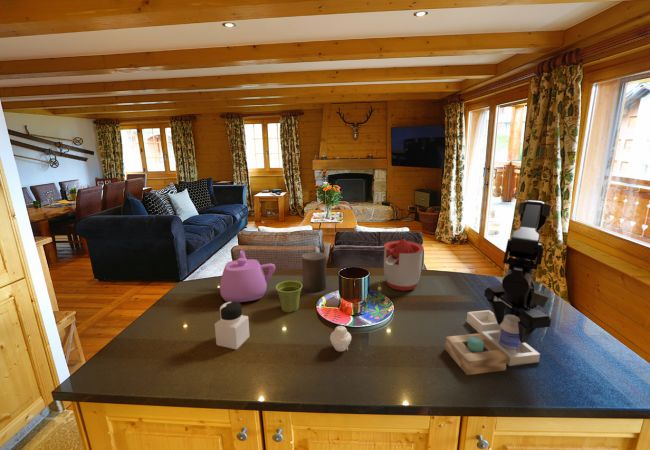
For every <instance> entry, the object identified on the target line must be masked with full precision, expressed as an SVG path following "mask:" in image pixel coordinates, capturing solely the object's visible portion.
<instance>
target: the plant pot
mask: <svg viewBox="0 0 650 450" xmlns="http://www.w3.org/2000/svg"><path fill="white" fill-rule="evenodd" d="M302 288H303V283H301V282H299V281H296V280H286V281H281V282H279V283H277V284H276V285H275V290H276V291H277V293H278V297H279V302H280V307H281V310H282V311H283V312H285V313H291V312H297V311H298V310H299V308H300V299H301V298H300V297H301V291H302Z"/></svg>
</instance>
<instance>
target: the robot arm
mask: <svg viewBox="0 0 650 450" xmlns="http://www.w3.org/2000/svg"><path fill="white" fill-rule="evenodd" d="M551 208H552V205H550V204H548V203H545V202H544V201H541V200H534V199H533V200H531V199H527V200H524V201H522V202H519V206H518V210H517V215H518V216H519V222H520V225H519V228H518V229H516V230H514V231H513V232H512V234H511V237H510V238H508V239H507V243H506V246H505V251H504V256H503V257H504V258H503V261H502V264H504V265H508V266H507V267H508V268H507V271H506V272H505V274H504V277H503V279H502V282H501V286H488V287H487V288H486V289H485V290H484V295H483V296H484V297H485V298H486V301H487V302H488V304H489V306H490V309H491V310H492V311H491V312H493V313H494V316H495V318H496V321H497V323H498V324H499V325H500V324H501V323H502V322H503V321H504V316H505V315H514V316H517V317H519V319H520V321H518V328H519V337H520V342H521V343H526V342H527V340H528V339H529V337H531V335H532V333H533V332H534V331H535V330H536V329H541V328H542V329H544V328H550V327H551V322H552V317H550V316H549V315H547V314H546V313H544V312H543V311H541V310H540V309H537V307H538V306H539V307H540V308H545V307H546V304H547V302H548V300H549V299H550V297H549V296H547V295H546V294H544V293H542V292H540V291H539V290H536V289H535V287H536V284H535V282H534V280H533V272H534V270H538V267H539V266H542V261H543V256H544V250H545V248H544V247H543V244H542V243H540V238H541V235H540V234H539V231H540V230H541V229H543V227H544V226H545V225H546V224H547V223H546V222H547V219H548V220H549V219H550V216H551ZM535 308H536V309H535Z"/></svg>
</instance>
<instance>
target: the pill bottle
mask: <svg viewBox="0 0 650 450" xmlns="http://www.w3.org/2000/svg"><path fill="white" fill-rule="evenodd" d="M518 321H520V319H519V317H517V316H514V315H505V316H504V318H503V322H502V323H501V325H500V332H499V340H498V343H499V344H500V345H501V346H502V347H503V348H504V349H506V350H507V351H508V352H509V353H510V354H516V353H518V352H519V348H520V337H519V328H518Z"/></svg>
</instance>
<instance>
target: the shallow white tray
mask: <svg viewBox="0 0 650 450" xmlns="http://www.w3.org/2000/svg"><path fill="white" fill-rule="evenodd" d="M499 332H500V330H493V331H484V332H481V333H482V334H483V335H484V336H485V337H486V338H487V339H488V340H490V341H491V342H492V343H493V344H494V345H495V346H496V347H497V348H498V349H500V350H501V351H502V352H503V353H504V354H505V355H506V356H507V364H506V365H507V366H508V367H511V366H512V367H513V366H520V365H526V364H528V365H529V364H534V363H535V364H536V363H539V362H540V356H541V353H540V352H538V351H537V350H536V349H534V348H533V347H532V346H531V345H529V344H528V343H526V342H525V343H521V342H520V348H519V352H518V353H516V354H510V353H509V352H508V351H507V350H506V349H504V348H503V347H502V346H501V345H500V344H499V343H498V340H499Z"/></svg>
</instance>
